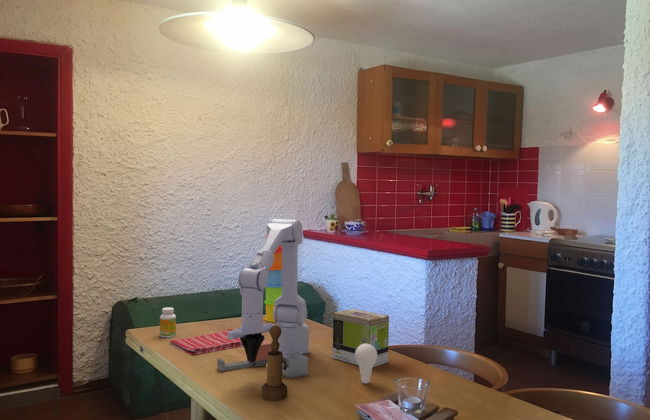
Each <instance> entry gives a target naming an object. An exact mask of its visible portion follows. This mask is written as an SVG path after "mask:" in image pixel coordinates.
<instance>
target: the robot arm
mask: <svg viewBox="0 0 650 420" xmlns="http://www.w3.org/2000/svg"><path fill="white" fill-rule="evenodd" d="M266 235H267V238H266V237H265V241H264V243H263V245H262V248H261V249H257V251H255V254H254V256H253V257H252V259H251V260H250V262H249V264H248V266H247V267H245V268H244V269H241V270H240V273H239V275H238V283H237V284H238V287H239V294H240V296H241V327H238V328H235V329H233V330H232V331H228V332H227V338H228V339H230V340H234V339H235V338H240V340H241V342H242V344H243V346H242V347H243V348H244V351H245V356H246V361H249V362H255V361H256V357H257V354H258V351H259V348H260V346H261V344H262V342H263V341H265V335H263V334H265V333H270V328H271V327H273V326H279V327H280V328H281V335H280V337H279V339H278V343H279V344H280V346H279V350H278V351H281V352H282V353H283V354H289V353H296V352H299V353H301V354H302V355H304V354H310V352H311V351H310V331H309V330H310V329H309V327H308V325H307V324H306V321H307V317H308V309H307V305H306V304H307V303H306V300H305V299H304V298H303V297H301V296H300V294H298V259H299V258H298V254H299V253H298V251H299V250H298V248H299V245H300V244H303V224H302V223H301V221H300V219H287V218H286V219H284V218H280V219H279V218H273V217H272V218H269V220H268V221H267V224H266ZM279 245H281V247H282V296H280V297H279V298H277V299H276V301H275V306H274V311H273V318H274V320H275V322H274V323H276V324H273V323H266V324H265V323H264V324H263V321H264V314H263V313H264V310H263V309H264V291H265V290H266V285H267V279H268V272H269V270H270V268H271V266H272V264H273V262H274V256H273V254H274V253H275V251H276V250H277V248H278V247H279Z"/></svg>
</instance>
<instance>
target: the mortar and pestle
mask: <svg viewBox="0 0 650 420" xmlns="http://www.w3.org/2000/svg"><path fill="white" fill-rule="evenodd" d="M269 335H270V337H271V338H272V342H271V349H272V351H270V352H268V353H267V369H266V382H265V383H264V384H263V385H262V386H261V390H260V391H261V392H260V396H261V398H262V399H264V400H267V401H281V400H284V399H286V398H287V397H288V386H287V385H286V384H285V383H284V382H283V374H282V361H283V353H282V352H281V351H278V350H279V346H280V344H279V337H280V335H281V328H280V327H279V325H275V326H273V327H271V328H270V332H269Z"/></svg>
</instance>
